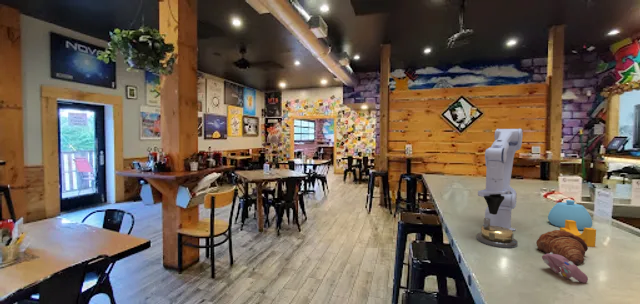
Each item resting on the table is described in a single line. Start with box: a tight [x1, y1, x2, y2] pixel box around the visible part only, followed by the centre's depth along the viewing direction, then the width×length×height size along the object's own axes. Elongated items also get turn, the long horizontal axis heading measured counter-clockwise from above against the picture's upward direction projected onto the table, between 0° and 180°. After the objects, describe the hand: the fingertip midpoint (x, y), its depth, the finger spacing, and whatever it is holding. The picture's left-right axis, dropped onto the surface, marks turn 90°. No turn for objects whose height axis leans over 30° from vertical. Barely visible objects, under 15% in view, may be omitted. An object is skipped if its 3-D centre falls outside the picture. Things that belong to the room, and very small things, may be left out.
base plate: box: [476, 232, 519, 249], centre depth 108 cm, size 13×13×1 cm
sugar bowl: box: [547, 199, 593, 231], centre depth 128 cm, size 15×15×12 cm
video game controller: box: [541, 252, 589, 284], centre depth 81 cm, size 10×5×7 cm, turn 5°
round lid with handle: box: [480, 217, 515, 242], centre depth 107 cm, size 10×10×7 cm
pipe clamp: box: [559, 220, 597, 248], centre depth 109 cm, size 12×4×6 cm, turn 171°
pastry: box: [536, 229, 589, 266], centre depth 98 cm, size 17×15×8 cm
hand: (493, 213), depth 111 cm, fingers closed
